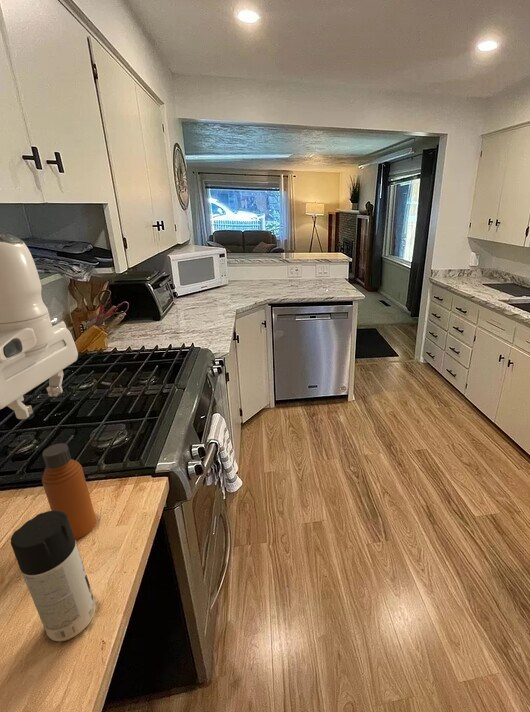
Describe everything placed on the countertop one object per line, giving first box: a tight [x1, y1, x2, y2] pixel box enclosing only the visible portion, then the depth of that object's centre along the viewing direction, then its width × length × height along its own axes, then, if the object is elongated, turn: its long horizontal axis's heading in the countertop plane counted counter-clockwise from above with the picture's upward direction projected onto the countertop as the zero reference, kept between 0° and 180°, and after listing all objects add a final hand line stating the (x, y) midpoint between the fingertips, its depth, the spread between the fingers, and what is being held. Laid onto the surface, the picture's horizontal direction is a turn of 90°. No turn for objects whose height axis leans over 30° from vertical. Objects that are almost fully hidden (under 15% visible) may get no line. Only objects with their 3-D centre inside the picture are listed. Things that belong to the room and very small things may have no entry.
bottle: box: [41, 458, 97, 541], centre depth 71 cm, size 6×6×19 cm
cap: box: [42, 442, 72, 469], centre depth 68 cm, size 4×4×3 cm
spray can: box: [10, 510, 96, 642], centre depth 54 cm, size 7×7×20 cm
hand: (41, 405), depth 64 cm, fingers open, 6 cm apart
